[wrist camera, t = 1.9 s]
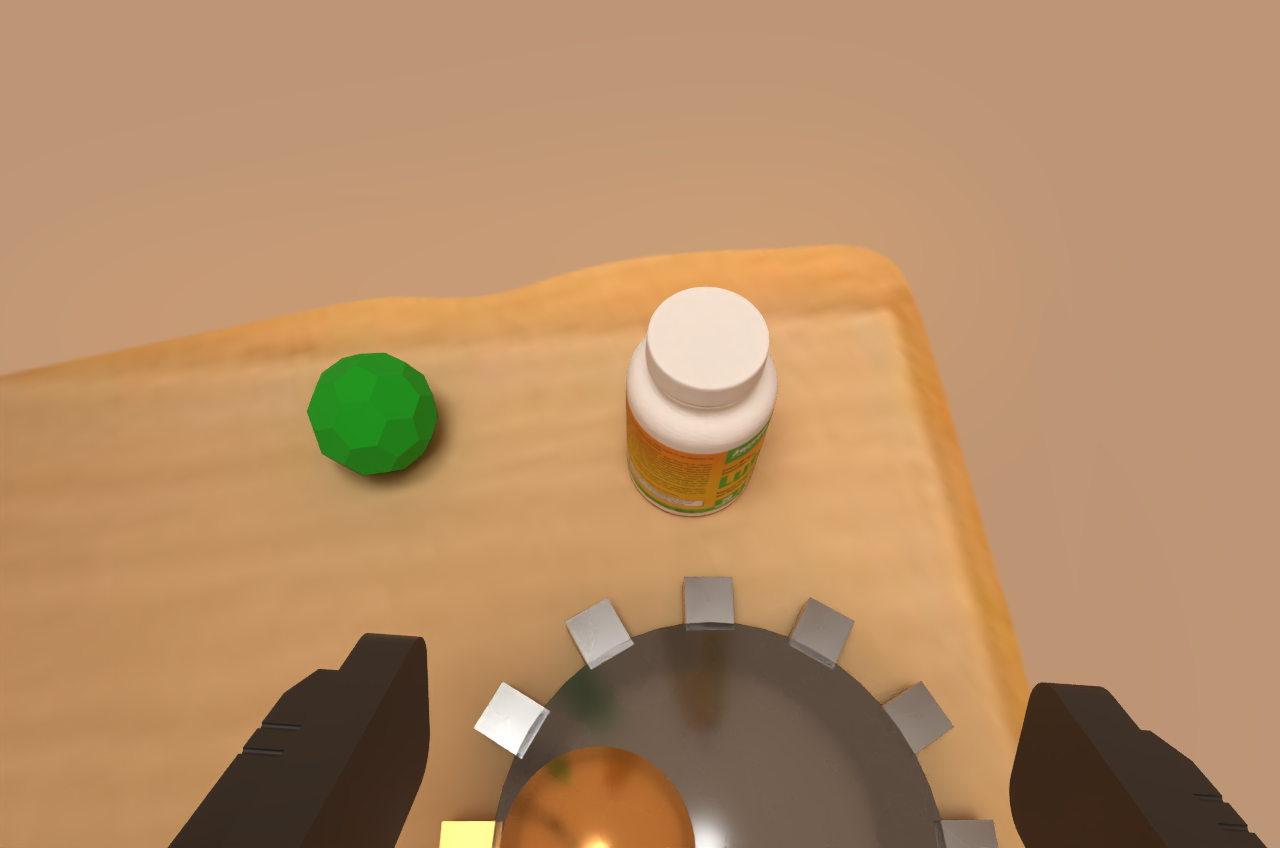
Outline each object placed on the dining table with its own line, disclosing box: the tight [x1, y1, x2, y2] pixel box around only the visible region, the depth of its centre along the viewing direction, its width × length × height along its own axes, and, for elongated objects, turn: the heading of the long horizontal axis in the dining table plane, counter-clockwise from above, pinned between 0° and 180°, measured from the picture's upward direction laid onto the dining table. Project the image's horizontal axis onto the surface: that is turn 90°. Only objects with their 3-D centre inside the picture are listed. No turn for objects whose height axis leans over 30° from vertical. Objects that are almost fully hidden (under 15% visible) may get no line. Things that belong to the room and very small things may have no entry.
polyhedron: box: [307, 353, 438, 475], centre depth 32 cm, size 5×5×5 cm
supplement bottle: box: [626, 287, 778, 516], centre depth 30 cm, size 5×5×10 cm
